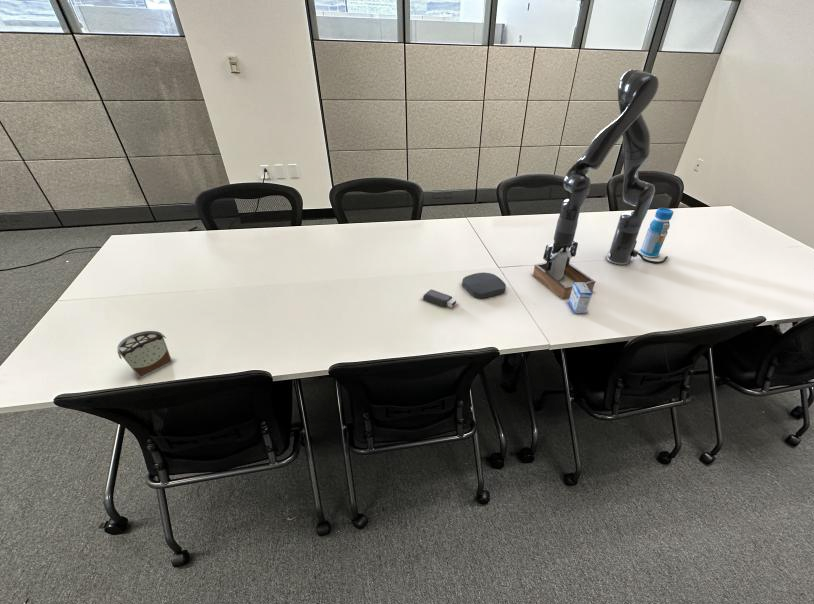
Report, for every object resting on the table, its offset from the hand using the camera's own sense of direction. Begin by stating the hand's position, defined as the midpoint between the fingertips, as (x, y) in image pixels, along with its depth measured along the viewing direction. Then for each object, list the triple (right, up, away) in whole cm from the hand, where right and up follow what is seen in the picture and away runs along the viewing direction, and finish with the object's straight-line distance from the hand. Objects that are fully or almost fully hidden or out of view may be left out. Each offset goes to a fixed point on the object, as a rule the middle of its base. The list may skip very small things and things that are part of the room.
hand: (556, 268), depth 169 cm
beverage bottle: (+49, +13, +24) cm, 56 cm away
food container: (-133, -42, -47) cm, 147 cm away
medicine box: (+4, -19, -14) cm, 24 cm away
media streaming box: (-31, -9, -5) cm, 32 cm away
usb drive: (-48, -17, -14) cm, 52 cm away
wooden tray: (+2, -6, 0) cm, 7 cm away
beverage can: (0, -3, +3) cm, 5 cm away
